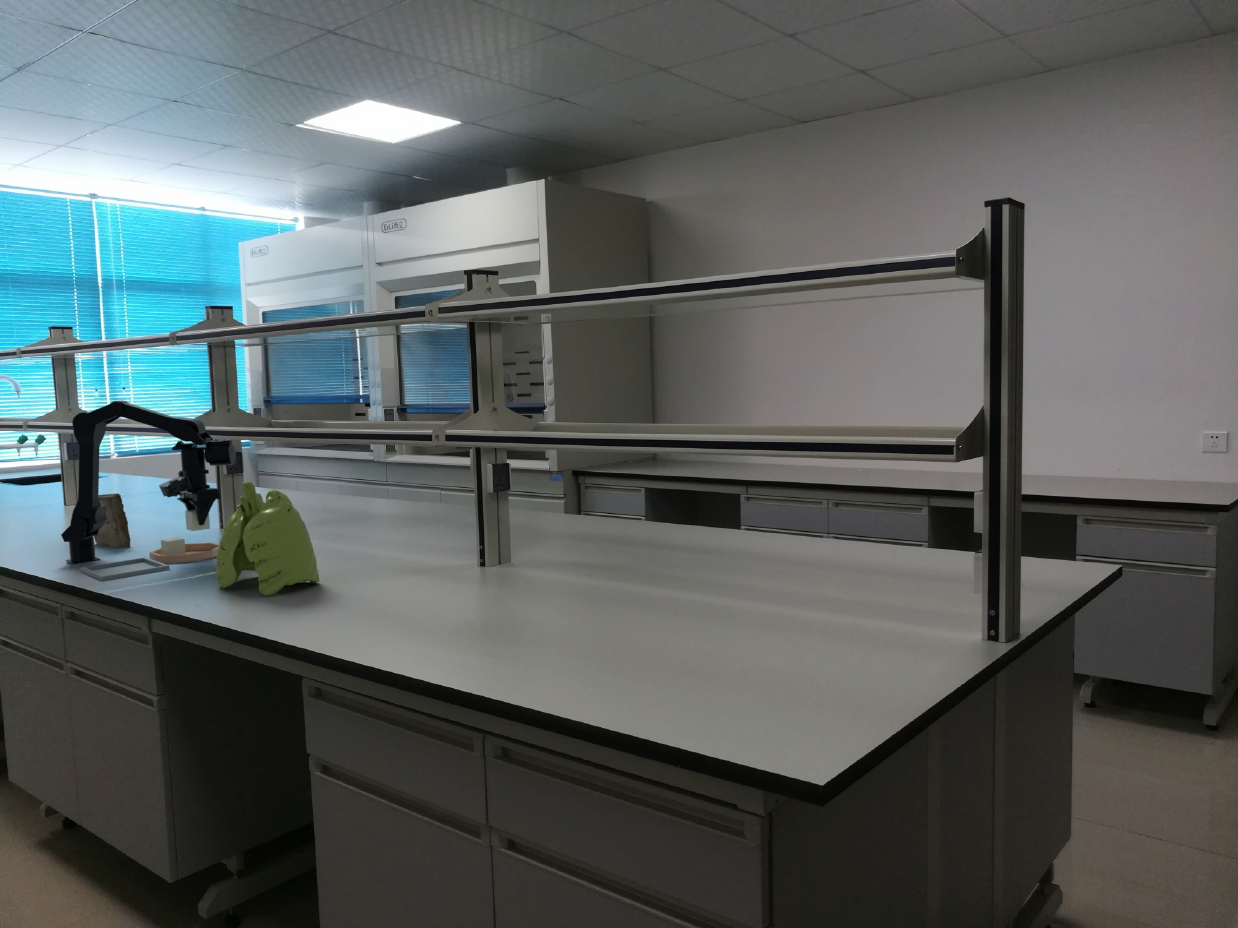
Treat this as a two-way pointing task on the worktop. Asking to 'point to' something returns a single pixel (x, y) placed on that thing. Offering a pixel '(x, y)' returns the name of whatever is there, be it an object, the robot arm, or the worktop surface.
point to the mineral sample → (113, 523)
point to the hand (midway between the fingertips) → (197, 524)
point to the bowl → (188, 553)
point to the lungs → (266, 543)
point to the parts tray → (124, 568)
